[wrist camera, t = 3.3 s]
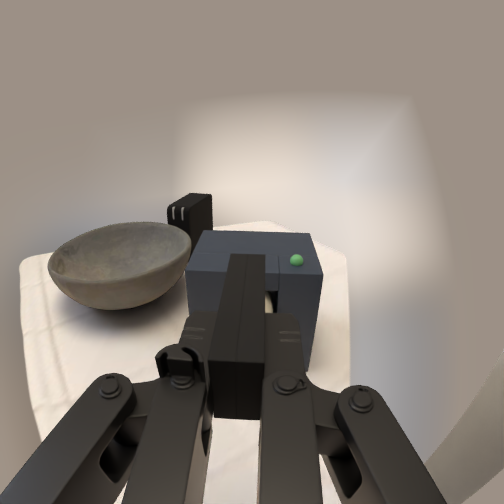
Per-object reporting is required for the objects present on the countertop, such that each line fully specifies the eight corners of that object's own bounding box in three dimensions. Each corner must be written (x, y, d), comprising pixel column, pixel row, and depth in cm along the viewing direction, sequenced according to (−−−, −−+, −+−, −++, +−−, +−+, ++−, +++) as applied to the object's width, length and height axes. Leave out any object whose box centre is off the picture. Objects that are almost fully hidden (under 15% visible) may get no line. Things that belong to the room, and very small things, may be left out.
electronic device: (213, 242, 63) (212, 193, 58) (192, 265, 54) (188, 208, 50) (194, 240, 64) (192, 191, 59) (170, 261, 55) (166, 206, 51)
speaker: (208, 316, 41) (203, 223, 36) (300, 319, 41) (310, 226, 35) (195, 367, 32) (183, 261, 27) (307, 371, 32) (324, 266, 27)
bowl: (71, 356, 32) (50, 300, 28) (55, 281, 47) (44, 238, 44) (220, 305, 43) (218, 252, 40) (162, 251, 59) (158, 210, 55)
